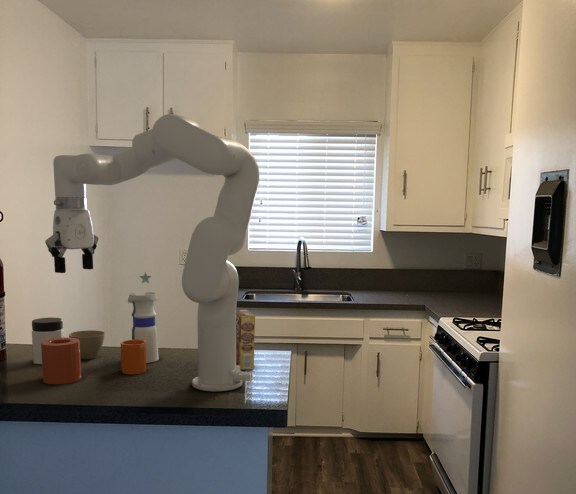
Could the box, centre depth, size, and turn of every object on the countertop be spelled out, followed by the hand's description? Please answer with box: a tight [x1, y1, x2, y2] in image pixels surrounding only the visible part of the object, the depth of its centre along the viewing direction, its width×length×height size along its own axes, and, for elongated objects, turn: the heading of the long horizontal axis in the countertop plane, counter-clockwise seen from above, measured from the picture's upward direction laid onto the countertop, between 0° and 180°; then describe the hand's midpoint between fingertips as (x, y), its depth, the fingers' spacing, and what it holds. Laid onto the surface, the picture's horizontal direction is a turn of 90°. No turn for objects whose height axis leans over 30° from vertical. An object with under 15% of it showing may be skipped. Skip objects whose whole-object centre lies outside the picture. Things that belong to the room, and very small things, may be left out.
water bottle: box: [127, 272, 160, 364], centre depth 179 cm, size 8×9×25 cm
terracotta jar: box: [41, 336, 82, 385], centre depth 160 cm, size 9×9×10 cm
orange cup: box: [120, 339, 148, 375], centre depth 168 cm, size 6×6×8 cm
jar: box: [31, 317, 65, 366], centre depth 177 cm, size 9×8×12 cm
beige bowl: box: [68, 330, 106, 360], centre depth 183 cm, size 10×10×7 cm
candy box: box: [236, 309, 256, 371], centre depth 174 cm, size 9×4×15 cm, turn 16°
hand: (74, 270), depth 164 cm, fingers open, 9 cm apart
